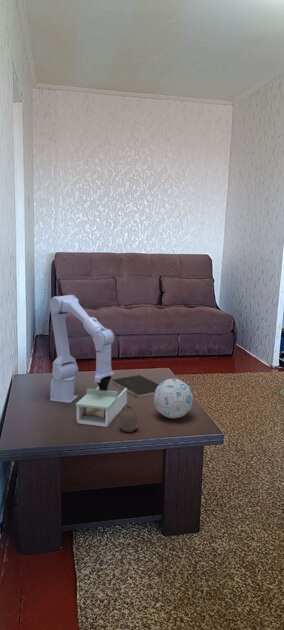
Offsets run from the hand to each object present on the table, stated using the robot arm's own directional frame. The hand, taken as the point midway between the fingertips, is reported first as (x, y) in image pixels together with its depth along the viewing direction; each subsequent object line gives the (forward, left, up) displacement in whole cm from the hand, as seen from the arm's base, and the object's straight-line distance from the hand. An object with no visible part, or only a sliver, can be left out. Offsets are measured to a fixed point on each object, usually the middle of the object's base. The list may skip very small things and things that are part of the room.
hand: (103, 394), depth 182 cm
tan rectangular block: (0, -7, -6) cm, 9 cm away
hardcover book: (+6, +34, -8) cm, 36 cm away
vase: (+14, -13, -8) cm, 20 cm away
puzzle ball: (+27, +4, -8) cm, 28 cm away
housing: (0, 0, -7) cm, 7 cm away
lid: (0, -7, -1) cm, 7 cm away
